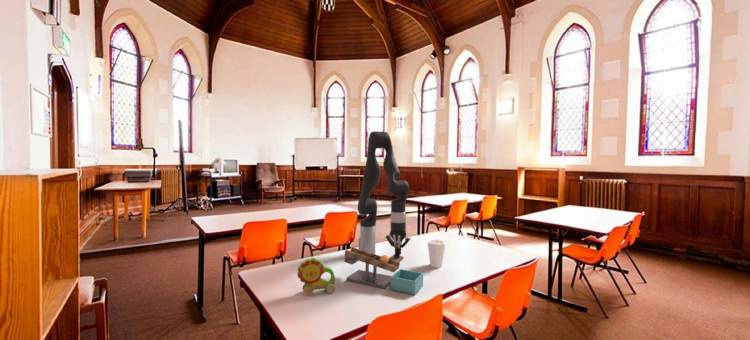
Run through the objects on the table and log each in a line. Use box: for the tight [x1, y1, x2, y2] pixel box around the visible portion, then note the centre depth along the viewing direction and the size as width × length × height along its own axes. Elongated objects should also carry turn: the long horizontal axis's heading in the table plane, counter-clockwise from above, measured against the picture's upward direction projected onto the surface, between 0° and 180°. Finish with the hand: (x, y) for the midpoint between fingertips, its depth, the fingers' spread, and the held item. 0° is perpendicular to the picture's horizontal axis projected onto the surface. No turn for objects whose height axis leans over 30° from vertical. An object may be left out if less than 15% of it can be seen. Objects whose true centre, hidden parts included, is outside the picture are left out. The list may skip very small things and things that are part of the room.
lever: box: [344, 246, 405, 273], centre depth 159 cm, size 26×18×6 cm
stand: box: [345, 262, 393, 290], centre depth 154 cm, size 20×12×10 cm, turn 64°
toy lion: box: [297, 257, 336, 296], centre depth 139 cm, size 16×5×15 cm, turn 105°
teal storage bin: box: [390, 268, 424, 296], centre depth 146 cm, size 11×11×6 cm
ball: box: [380, 254, 390, 263], centre depth 150 cm, size 4×4×4 cm
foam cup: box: [427, 239, 446, 269], centre depth 175 cm, size 10×9×13 cm
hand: (398, 255), depth 160 cm, fingers closed
